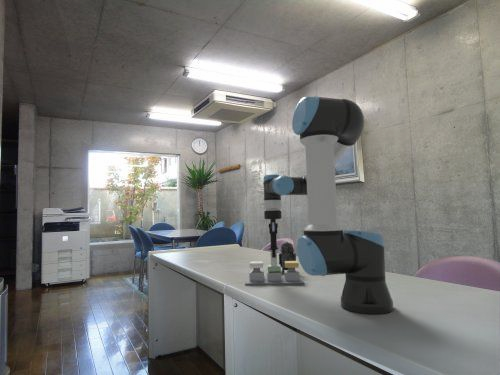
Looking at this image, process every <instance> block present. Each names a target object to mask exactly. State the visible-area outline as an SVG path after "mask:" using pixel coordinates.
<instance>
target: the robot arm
mask: <svg viewBox="0 0 500 375" xmlns="http://www.w3.org/2000/svg"><path fill="white" fill-rule="evenodd" d="M291 121H292V123H291V126H292V130H293V133H294V134H296V135H297V136H299V142H300V144H301V145H303V146H304V148H305V152H304V153H305V170H306V171H305V175H304V176H288V175H279V174H275V173H274V174H273V173H271V174H270V173H269V174H265V175H263V182H262V184H263V201H264V202H262V206H263V208H264V211H263V215H264V216H263V217H264V220H270V223H268V229H269V230H268V232H269V234H270V248H268V251H270V265H278V250H279V247H277V246H278V245H277V234H278V227H279V226H278V223H276V222H277V220H281V219H282V211H281V209H282V196H307V220H308V221H307V222H308V223H307V225H306V226H305V227H304V228H303V235H301V236H299V237H298V239H297V243H296V256H297V257H298V263H299V264H300V266H301V268H302V269H303V271H304V272H305V273H306V274H308V275H309V276H312V277H313V276H317V277H319V276H320V277H325V276H331V275H332V276H333V275H334V276H335V275H344V274H345V282H344V284H343V289H342V293H341V295H340V306H341V308H342V309H345V310H346V311H350V312H353V313H359V314H367V315H370V314H371V315H380V314H381V315H382V314H387V313H391V312H392V311H394V301H393V298H392V296H391V293H390V292H391V291H390V289H389V287H388V285H387V282H386V265H385V264H386V263H385V260H386V259H385V249H386V248H385V244H384V238H383V235H382V234H381V233H379V232H374V231H364V230H354V229H353V230H352V229H343V227H341V226H340V224H339V223H338V210H337V209H338V208H337V204H338V203H337V189H336V187H337V186H336V165H337V164H338V162H339V161H340V160H341V158H342V157H343V156H344V154H345V153H346V151H348V149H349V147H352V146H354V145H356V144H357V142H358V141H359V139H360V137H361V136H362V134H363V131H364V126H365V117H364V114H363V111H362V109H361V108H360V106H359V105H358V104H357V103H356V102H354V101H352V100H351V99H347V98H334V97H322V96H319V95H318V96H317V95H315V96H304V97H302V98H301V99H300V100H299V102H298V103H297V105H296V106H295V110H294V111H293V114H292V120H291Z"/></svg>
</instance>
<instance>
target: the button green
mask: <svg viewBox="0 0 500 375" xmlns="http://www.w3.org/2000/svg"><path fill="white" fill-rule="evenodd" d="M267 270H268V271H271V272H278V271H282V267H281V266H280V264H279V263H278V264H277V265H271V264H267Z"/></svg>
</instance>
